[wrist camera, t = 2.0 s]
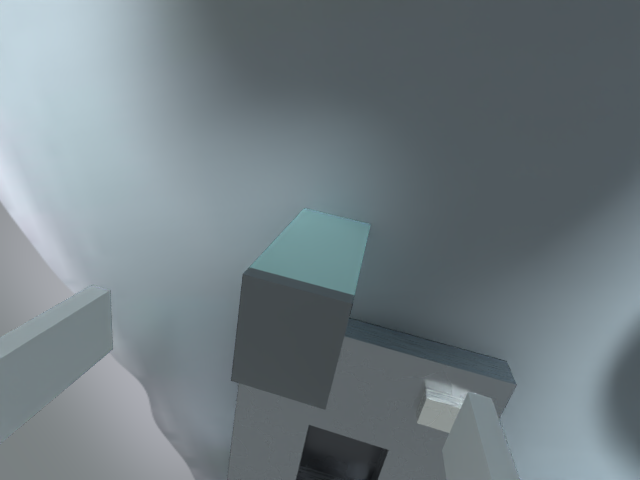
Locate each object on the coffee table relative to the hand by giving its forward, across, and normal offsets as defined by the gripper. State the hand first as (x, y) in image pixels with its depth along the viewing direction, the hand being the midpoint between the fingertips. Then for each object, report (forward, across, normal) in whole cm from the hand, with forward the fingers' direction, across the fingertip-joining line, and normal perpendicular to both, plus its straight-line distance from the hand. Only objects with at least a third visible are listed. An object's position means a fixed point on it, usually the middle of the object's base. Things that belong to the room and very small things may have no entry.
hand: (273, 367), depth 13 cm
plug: (+10, 0, +1) cm, 10 cm away
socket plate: (+10, +4, -12) cm, 16 cm away
